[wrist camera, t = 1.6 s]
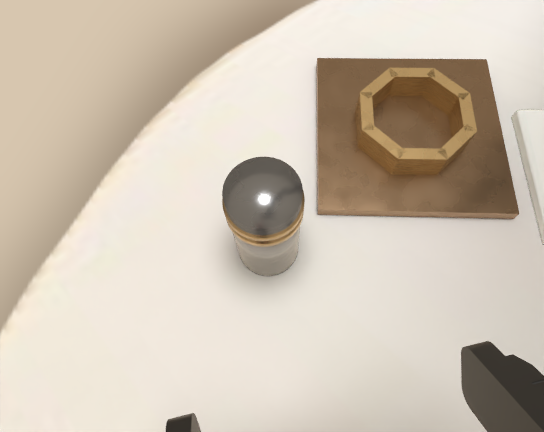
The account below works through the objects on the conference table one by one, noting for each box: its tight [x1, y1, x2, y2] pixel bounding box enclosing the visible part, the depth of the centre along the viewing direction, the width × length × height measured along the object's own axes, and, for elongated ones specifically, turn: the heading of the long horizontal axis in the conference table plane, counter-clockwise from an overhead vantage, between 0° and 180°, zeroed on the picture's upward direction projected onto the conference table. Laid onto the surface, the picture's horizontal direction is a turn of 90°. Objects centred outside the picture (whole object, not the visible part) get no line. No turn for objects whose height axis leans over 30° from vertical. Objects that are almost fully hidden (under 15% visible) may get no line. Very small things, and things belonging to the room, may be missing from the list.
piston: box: [222, 157, 304, 276], centre depth 30 cm, size 5×5×10 cm
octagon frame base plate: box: [317, 58, 519, 219], centre depth 37 cm, size 16×16×4 cm
